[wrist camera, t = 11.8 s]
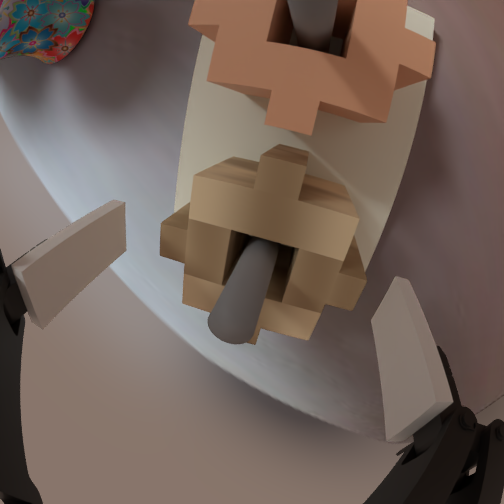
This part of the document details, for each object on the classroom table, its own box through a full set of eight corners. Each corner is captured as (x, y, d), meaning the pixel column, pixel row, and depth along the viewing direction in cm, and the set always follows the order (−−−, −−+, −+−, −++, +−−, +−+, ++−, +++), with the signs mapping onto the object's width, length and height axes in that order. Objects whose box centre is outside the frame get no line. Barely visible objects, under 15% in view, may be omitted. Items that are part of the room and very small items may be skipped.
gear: (197, 263, 20) (160, 313, 15) (215, 130, 16) (168, 138, 10) (324, 300, 19) (322, 362, 14) (372, 171, 15) (401, 198, 9)
